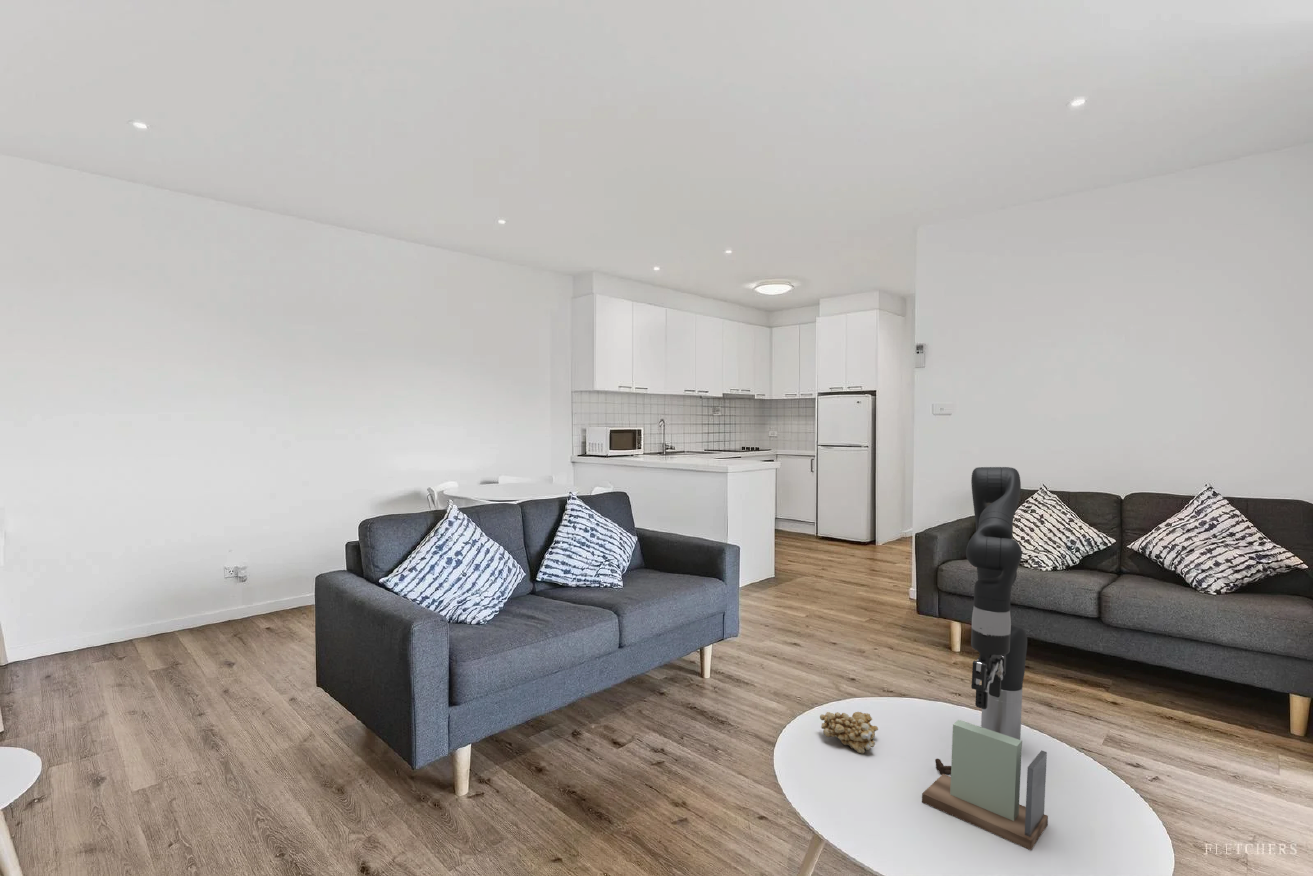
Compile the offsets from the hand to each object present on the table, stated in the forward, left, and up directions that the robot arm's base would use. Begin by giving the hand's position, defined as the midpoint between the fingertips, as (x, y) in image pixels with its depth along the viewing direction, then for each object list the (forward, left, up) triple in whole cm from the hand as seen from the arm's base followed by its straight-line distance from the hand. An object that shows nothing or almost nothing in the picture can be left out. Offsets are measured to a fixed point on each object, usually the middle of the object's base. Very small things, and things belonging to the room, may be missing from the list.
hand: (988, 701), depth 140 cm
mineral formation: (-7, -37, -25) cm, 45 cm away
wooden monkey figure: (-15, -8, -26) cm, 31 cm away
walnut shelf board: (0, 0, -25) cm, 25 cm away
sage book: (0, 0, -23) cm, 23 cm away
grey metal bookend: (0, +10, -23) cm, 25 cm away
